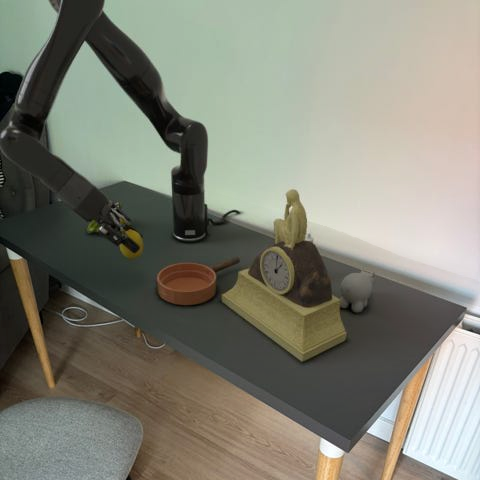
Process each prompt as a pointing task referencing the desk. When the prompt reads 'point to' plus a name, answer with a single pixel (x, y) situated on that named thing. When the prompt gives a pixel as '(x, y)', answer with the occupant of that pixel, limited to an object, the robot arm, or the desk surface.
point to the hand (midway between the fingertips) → (138, 244)
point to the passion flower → (93, 224)
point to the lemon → (138, 240)
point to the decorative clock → (290, 290)
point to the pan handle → (225, 264)
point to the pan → (186, 283)
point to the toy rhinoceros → (356, 290)
